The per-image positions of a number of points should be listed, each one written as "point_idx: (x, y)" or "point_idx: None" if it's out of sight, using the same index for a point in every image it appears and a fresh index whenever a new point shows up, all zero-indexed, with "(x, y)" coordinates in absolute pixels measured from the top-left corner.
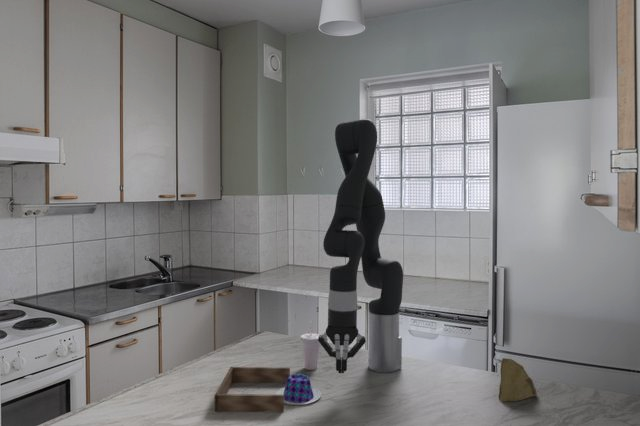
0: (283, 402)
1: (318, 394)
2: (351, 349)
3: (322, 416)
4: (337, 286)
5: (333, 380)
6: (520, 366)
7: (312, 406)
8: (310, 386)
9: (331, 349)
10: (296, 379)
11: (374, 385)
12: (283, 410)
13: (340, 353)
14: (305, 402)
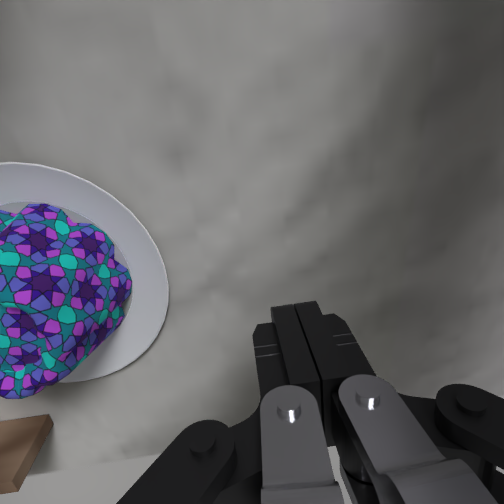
0: (33, 460)
1: (149, 260)
2: (495, 459)
3: None
4: None
5: (192, 8)
6: None
7: (154, 363)
8: (97, 321)
9: (202, 496)
10: None
11: (475, 59)
12: (49, 429)
13: (320, 426)
14: (111, 340)
